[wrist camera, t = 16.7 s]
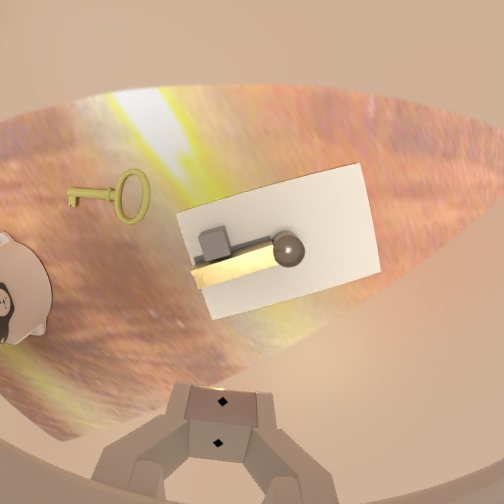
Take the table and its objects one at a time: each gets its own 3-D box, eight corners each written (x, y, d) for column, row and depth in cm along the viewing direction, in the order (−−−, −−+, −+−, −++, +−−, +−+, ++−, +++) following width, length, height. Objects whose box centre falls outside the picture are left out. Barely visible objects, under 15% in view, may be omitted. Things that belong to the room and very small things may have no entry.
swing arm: (295, 226, 37) (300, 232, 34) (302, 253, 38) (308, 261, 35) (193, 259, 38) (188, 268, 35) (203, 284, 39) (199, 296, 36)
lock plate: (213, 316, 42) (210, 331, 38) (177, 212, 38) (169, 217, 34) (377, 269, 41) (390, 279, 37) (356, 163, 37) (369, 162, 33)
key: (70, 188, 37) (63, 189, 35) (146, 165, 37) (141, 165, 35) (81, 236, 39) (74, 239, 37) (157, 218, 39) (153, 221, 37)
